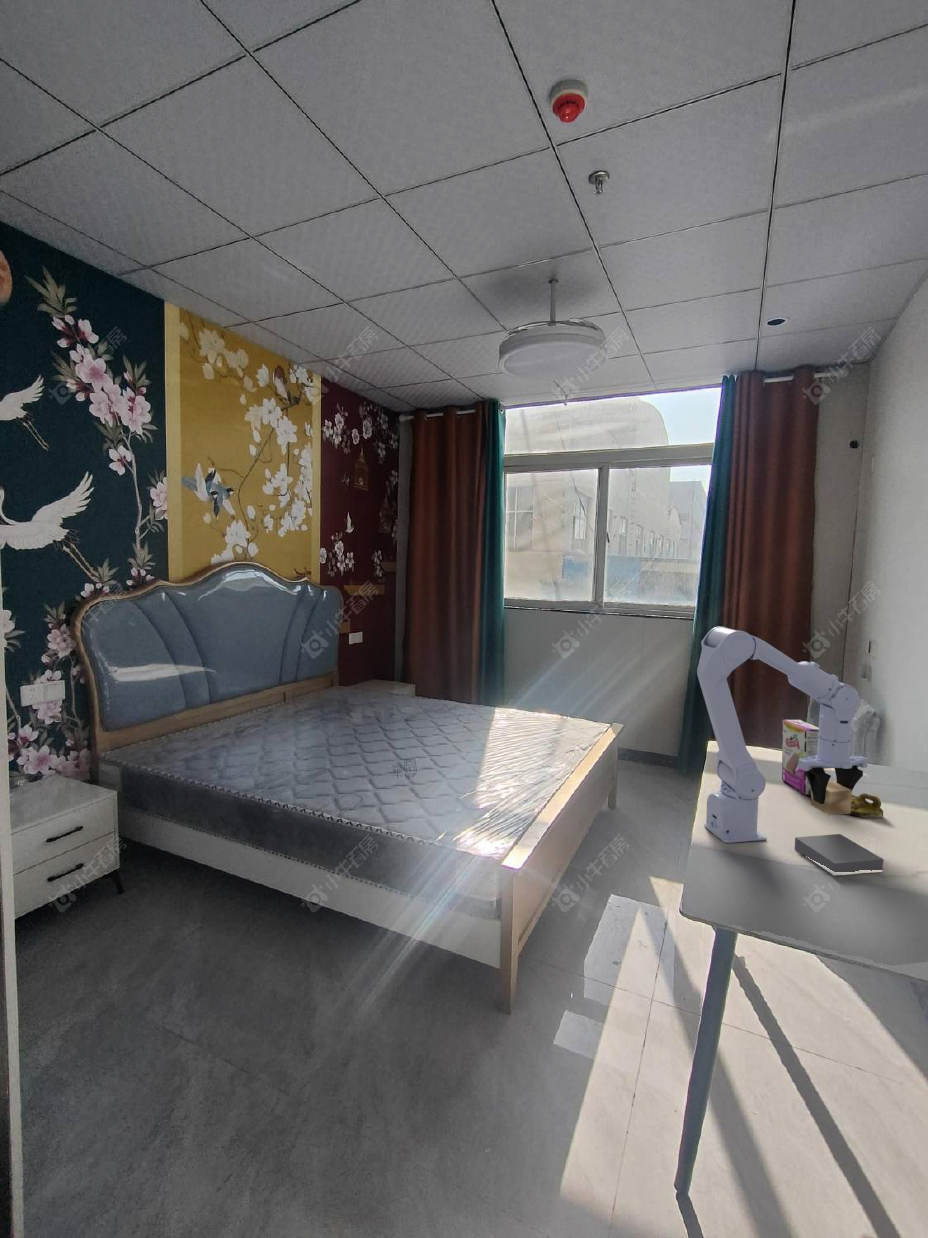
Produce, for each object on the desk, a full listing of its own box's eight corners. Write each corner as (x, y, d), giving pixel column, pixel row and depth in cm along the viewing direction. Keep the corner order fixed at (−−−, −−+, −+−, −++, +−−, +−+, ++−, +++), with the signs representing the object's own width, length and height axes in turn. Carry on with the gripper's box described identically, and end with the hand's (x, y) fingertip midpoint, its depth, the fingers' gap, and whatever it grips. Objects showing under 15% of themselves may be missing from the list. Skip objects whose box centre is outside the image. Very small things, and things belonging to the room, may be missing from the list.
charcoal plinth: (834, 876, 102) (834, 863, 101) (794, 849, 112) (795, 837, 111) (882, 872, 103) (883, 859, 103) (839, 845, 113) (840, 834, 113)
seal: (802, 805, 133) (879, 827, 123) (803, 787, 132) (880, 808, 122) (813, 788, 140) (887, 808, 129) (814, 771, 138) (888, 790, 128)
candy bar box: (780, 780, 148) (781, 719, 147) (799, 780, 147) (800, 719, 147) (804, 795, 136) (805, 729, 136) (825, 795, 136) (826, 729, 136)
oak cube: (828, 815, 115) (830, 791, 114) (810, 805, 120) (811, 782, 119) (850, 813, 115) (851, 790, 115) (831, 803, 120) (832, 781, 120)
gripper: (817, 746, 111) (813, 811, 113) (881, 742, 113) (877, 807, 114) (792, 735, 118) (789, 797, 119) (853, 732, 120) (849, 793, 121)
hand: (830, 801), depth 117 cm, fingers closed on oak cube, 5 cm apart
